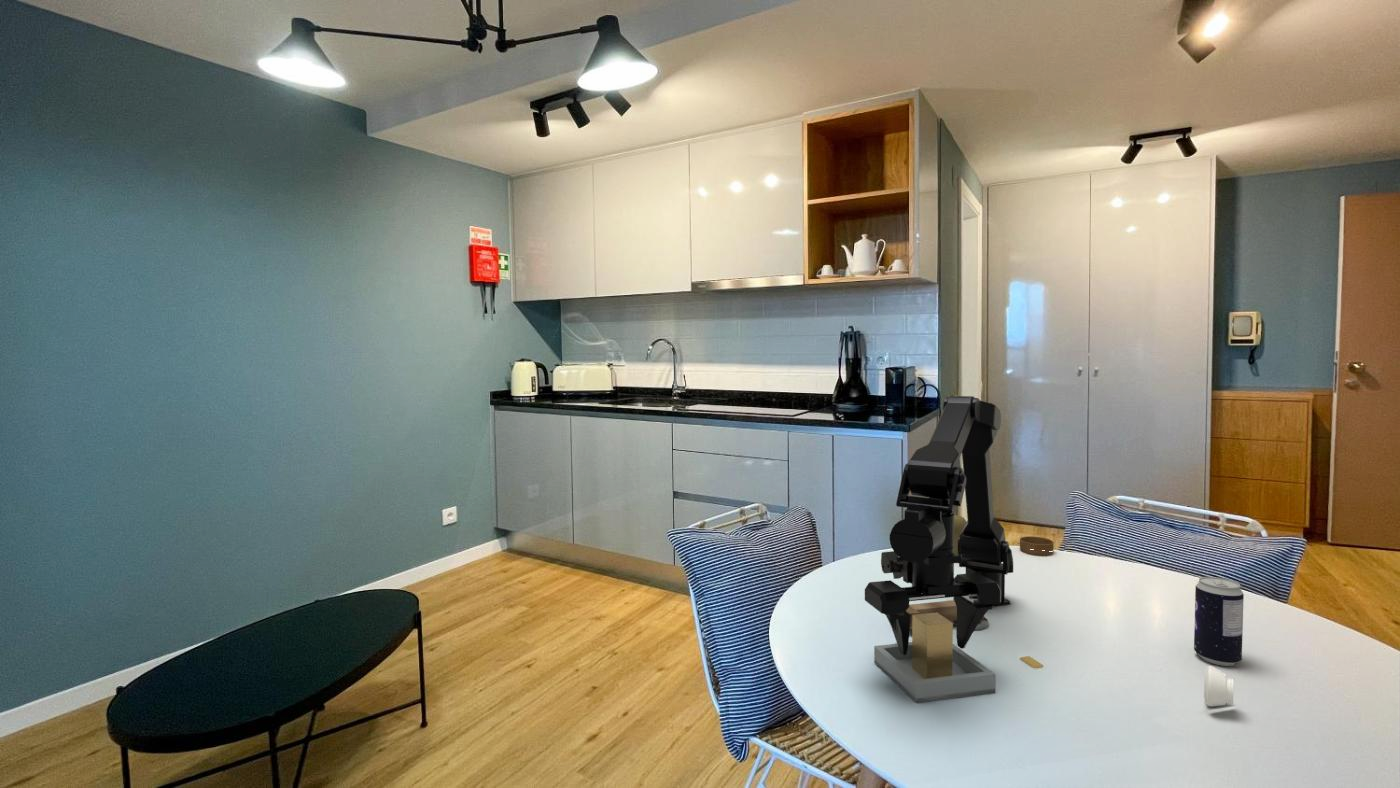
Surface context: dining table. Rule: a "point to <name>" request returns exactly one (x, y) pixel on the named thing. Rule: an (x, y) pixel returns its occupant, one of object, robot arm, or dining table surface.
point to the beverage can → (1218, 621)
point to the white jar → (1217, 687)
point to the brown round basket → (1036, 546)
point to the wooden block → (932, 645)
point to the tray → (962, 683)
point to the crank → (935, 609)
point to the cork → (958, 530)
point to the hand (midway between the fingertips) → (932, 650)
